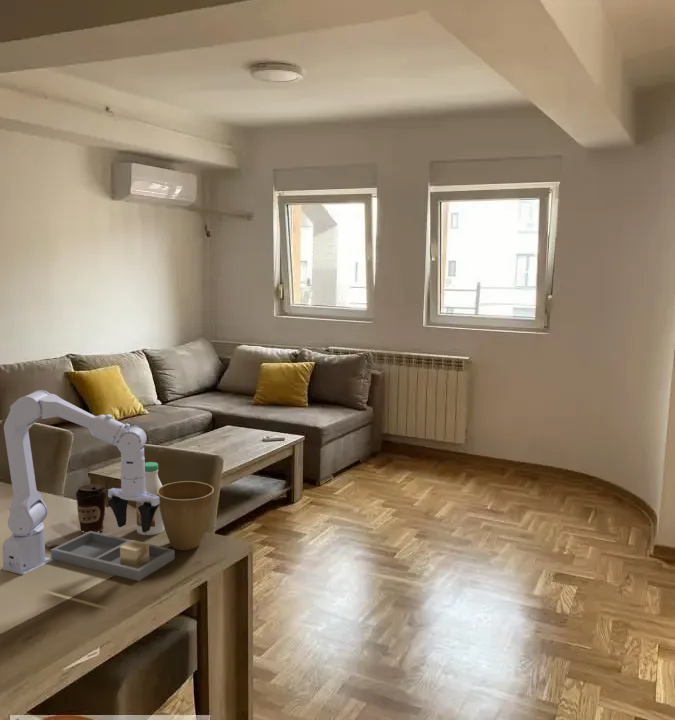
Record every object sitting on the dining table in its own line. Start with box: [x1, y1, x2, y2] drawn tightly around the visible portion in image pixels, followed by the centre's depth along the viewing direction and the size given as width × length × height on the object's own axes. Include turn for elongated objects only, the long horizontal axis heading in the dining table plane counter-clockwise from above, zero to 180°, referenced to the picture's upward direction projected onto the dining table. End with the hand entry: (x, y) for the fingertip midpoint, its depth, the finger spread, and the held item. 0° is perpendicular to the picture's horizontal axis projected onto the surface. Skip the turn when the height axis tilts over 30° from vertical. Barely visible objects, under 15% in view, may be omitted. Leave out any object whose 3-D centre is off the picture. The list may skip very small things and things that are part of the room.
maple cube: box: [120, 539, 150, 569], centre depth 177 cm, size 5×5×5 cm
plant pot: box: [157, 480, 215, 551], centre depth 189 cm, size 15×15×16 cm
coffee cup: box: [75, 483, 108, 532], centre depth 198 cm, size 9×8×13 cm
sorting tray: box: [50, 531, 176, 582], centre depth 180 cm, size 14×28×3 cm, turn 66°
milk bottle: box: [135, 461, 165, 536], centre depth 198 cm, size 8×8×20 cm
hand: (134, 528), depth 176 cm, fingers open, 7 cm apart
